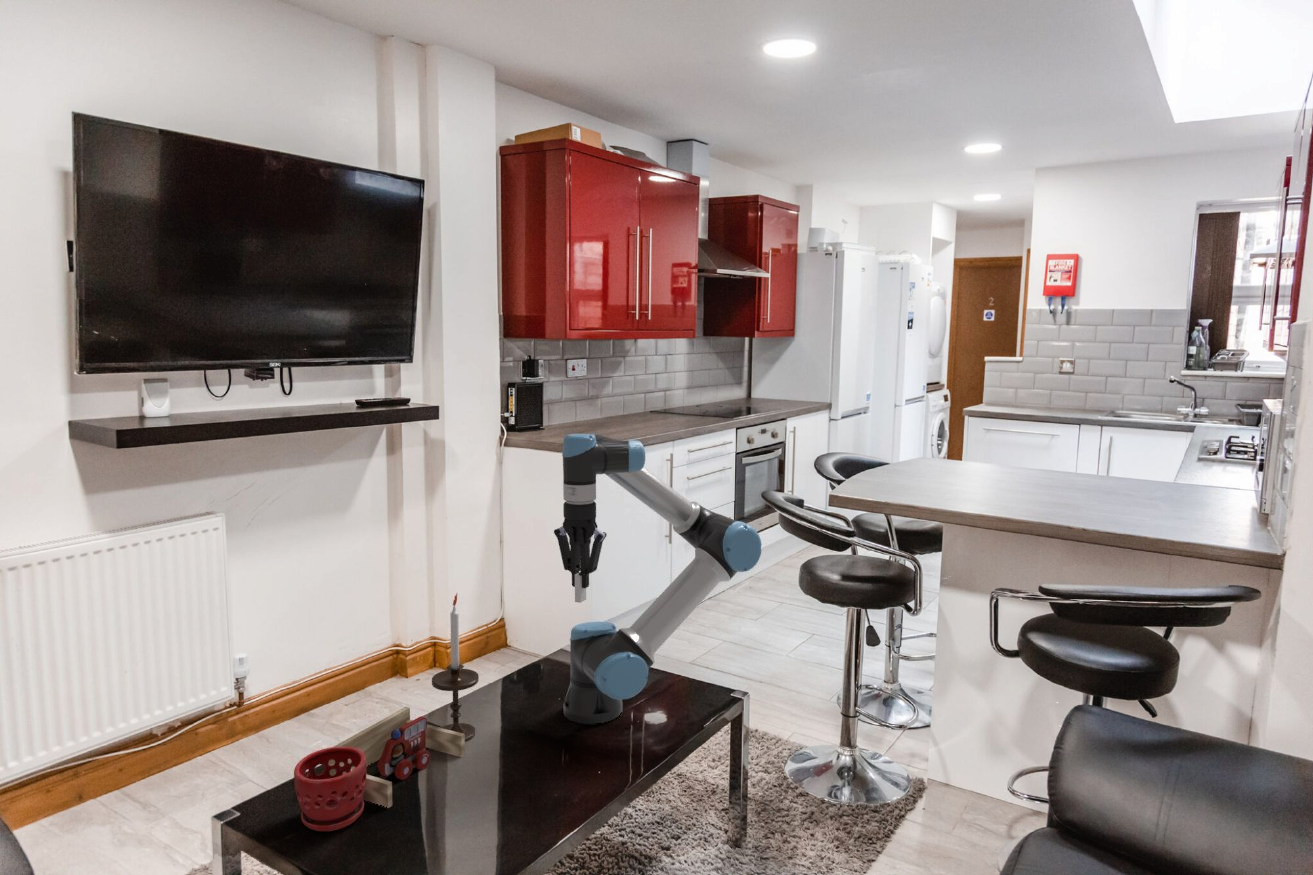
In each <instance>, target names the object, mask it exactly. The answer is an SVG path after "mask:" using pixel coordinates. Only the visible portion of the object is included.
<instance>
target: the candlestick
mask: <svg viewBox="0 0 1313 875" xmlns="http://www.w3.org/2000/svg"><path fill="white" fill-rule="evenodd" d="M457 600H458V593H456V594H455V595H454V599H453V601H452V611H450V617H449V618H450V664H448V665H447V666H446V670H442V671H440V672H437V673H436V674H434V675H433V676H432V677H431V685H432V688H435V689H437V690H439V691H444V692H452V702H451V703H450V704H449V709H450V710H451V711H452V712H451V713H450V718H452V723H450V724H446V725H443V726H442V727H441V728H443V729H447V730H451V731H455V732H458V733H462V734H465V743H467V742H469V741H470V740H472V739H473V738H474V737H475V736H476V728H475V727H474V726H473V725H472V724H469V723H465V722H460V719H459V718H460V717H461V716H462V713H461V712H460V709H461V707H463V706H462V705H463V703H462V702H460V701H459V691H464V690H467V689H470V688H473V687H474V686H476V685H477V684H478V683H479V673H478V672H477V671H475V670H472V669H468V668H464V667H465V666H464V665H463V664H462V663H460V631H459V630H460V629H459V628H460V624H459V623H460V621H459V619H460V618H459V616H460V615H459V614H460V613H459V611H458V610H457V607H456V605H457V602H458V601H457Z"/></svg>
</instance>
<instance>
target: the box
mask: <svg viewBox="0 0 1313 875" xmlns="http://www.w3.org/2000/svg"><path fill="white" fill-rule="evenodd" d="M413 720H414V719H411V708H410V707H409V706H404V707H403V708H401V709H400V710H397V711H395V712H394V713H391V715H388V716H387V717H385V718H383V719H381V720H379V721H377V722H376V723H374V724H372V725H370V726H368V727H367V728H364V729H363V730H361V731H359V732H358V733H356V734H354V735H352V736H350V737H348V738H347V739H345V740H343V741H341V742H339V743H337V744H336V745H334V746H333V747H353V748H356V749H359V750H360V751H362V752H363V753H364V755H365V757H366V768H367V767H369V766H371V765H372V764H374V763H375V762H378V761H379V759H380V757H381V756H382V753H383V750H384V747H385V744H386V742H387V740H389V739H391V732H392V731H393V730H395V729H397V730H399V728H400V727H402V726H403V725H405V724H407V723H409V722H411V721H413ZM425 734H426V749H430V750H434V751H437V752H440V753H446V754H449V755H452V756H456V757H459V758H462V757H464V756H466V748H465V747H466V745H465V744H466V742H465V734H462V733H458V732H455V731H451V730H447V729H443V728H442V727H439V726H435V725H431V724H428V723H427V727H426V731H425ZM348 762H349V763H351V762H352V761H351V759H348ZM371 763H372V764H371ZM328 764H329V765H334V764H335V760H329V761H328ZM368 765H369V766H368ZM340 766H344V763H343V762H341V763H340ZM355 768H356V767H352V768H351V771H352V770H353V769H355ZM335 774H336V770H335V769H331V770H330V775H335ZM344 774H347V773H346V772H343V775H344ZM366 775H367V776H366V786H365V791H364V794H363V797H362V799H363V801H364V800H365V801H364V802H367V801H370V802H372V803H371V804H373V803H375V804H374V805H376V804H378V805H377V806H380V805H382V806H381V807H383V806H384V807H383V808H386V807H387V808H386V809H389V808H391V807H392V806H393V782H392V781H389V780H387V779H383V778H381V777H377V776H373V775H370V774H368V773H366ZM370 802H369V803H370Z"/></svg>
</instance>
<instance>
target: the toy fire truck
mask: <svg viewBox="0 0 1313 875" xmlns="http://www.w3.org/2000/svg"><path fill="white" fill-rule="evenodd" d="M412 720H413V721H411V722H409V723H407V724H405V725H403V726H402V727H400V728H399V730H397V729H395V730H393V731H392V732H391V739H389V740H387V742H386V744H385V747H384V750H383V753H382V756H381V757H380V759H379V760H377V768H378V771H379V773H380V775H382V776H383V777H388V776H390V775H392V774H394V776H395V777H396V778H397V779H398V780H406V779H408V778H409V777H410V775H412V772H413V767H414V768H415V769H417V770H420V771H421V770H424V769H426V768H427V767H428V766H429V764H430V763H431V756H432V755H431V753H430V751H429V750H426V749H427V748H426V734H425V731H426V727H427V724H428V718H427V717H425V716H418V717H417V718H415V719H412Z"/></svg>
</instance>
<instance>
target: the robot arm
mask: <svg viewBox="0 0 1313 875" xmlns="http://www.w3.org/2000/svg"><path fill="white" fill-rule="evenodd" d="M561 454H562V455H561V456H562V471H563V472H562V475H563V477H562V478H563V480H562V481H563V482H562V483H563V484H562V490H563V494H562V495H563V500H564V502H563V509H562V510H563V518H564V520H563V522H562V526H560V527H558V528H556V529H554V530H553V534H554V535H555V537H556V539H557V544H558V547H559V550H560V555H561V556H560V557H561V560H562V565H563V570H565V571H569V572H570V573H571V585H572V587H573V588H574V602H575V603H579V604H580V603H582V602H584V601H586V600H587V588H589V587H590V574H592V573H594V572H596V571H598V564H599V560H600V556H601V552H602V551H601V550H602V548H603V544H604V543H603V542H604V540H605V539H606V538H607V532H605V531H603V532H602V531H601V530H600V529H599V528H598V524H597V503H596V499H597V475H605V476H607V477H608V478H610V479H611V480H613V481H614V482H615V483H616V484H618V485H619V486H620V487H622V488H623V489H624V490H626V491H627V492H628V493H629V494H631V495H632V496H634V497H635V498H636V499H638V500H639V501H640V502H641V503H643V504H644V505H646V506H647V507H648V508H649V509H650V510H652V511H653V512H655V513H656V514H658V515H659V516H660V517H661V518H663V519H664V520H666V521H667V522H668V523H669V524H671V525H672V529H673V532H675V533H676V534H678V535H679V536H680V537H681V538H682V539H684V540H685V541H686V542H687V543H689V544H690V545H691V547H693V548H694V554H695V555H694V559H692V561H691V562H690V563H689V564H688V565H686V567H685V568H684V569H683V571H681V572H680V574H678V575H677V576H676V578H675V579H673V581H671V583H670V584H669V585H668V586H667V587H666V588H665V589H664V591H662V592H661V594H660V595H659V596H658V597H656V599H655V600H654V601H653V602H652V603H651V604H650V605H649V606H648V608H646V610H644V612H643V613H642V614H641V615H640V616H639V617H638V618H637V619H636V620H635V621H634V622H633V624H631V626H630V627H628V628H627V627H626V628H625V627H623V628H621V627H620V628H619V629H618V630H617V626H616V624H614V623H612V622H609V621H590V622H589V621H588V622H583V623H579V624H576V625H575V626H573V627H572V629H570V630H571V631H570V638H569V644H570V646H569V648H570V652H569V653H570V654H569V655H570V658H569V659H570V660H569V664H570V665H569V666H570V675H569V676H570V680H569V681H570V682H569V686H568V689H567V692H566V696H565V698H564V702H563V715H564V718H566V717H567V718H566V719H568V720H569V721H572V722H573V721H574V723H576V722H577V724H581V723H585V724H584V725H597V724H596V723H602V724H605V723H604V722H607V721H610V720H612V719H614V718H616V717H618V716H619V715H620V713H621V712H622V713H623V700H629V699H631V698H634V697H635V696H637V695H638V694H639V693H640V692H642V691H643V689H644V688H645V686H646V684H647V682H648V676H649V669H650V668H651V666H653V665H654V663H655V654H656V652H657V651H658V650H660V648H661V646H663V645H664V644H665V642H666V641H667V640H668V639H669V638H670V637H671V636H672V635H673V634H674V632H675V631H676V630H677V629H679V627H680V626H681V625H682V624H683V623H684V621H685V620H687V619H688V617H689V616H690V615H691V614H692V613H693V612H694V611H695V609H697V608H698V607H699V605H700V604H701V603H702V602H703V601H704V600H706V598H707V597H708V596H709V595H710V594H711V592H712V591H714V589H715V588H716V587H717V586H718V585H719V583H721V582H729V581H731V580H732V578H733V577H734V576H735V575H736V574H737V573H743V572H748V571H750V570H752V569H753V568H754V567H755V566H756V565H757V564H758V562H759V560H760V558H761V555H762V540H761V537H760V534H759V532H758V531H757V530H756V528H754V527H753V526H751V525H748V523H746V522H743V521H739V520H736V519H732V518H730V517H728V516H725V515H722V514H719V513H717V512H714V511H711V510H709V509H708V508H705V507H704V506H702V505H701V504H699V503H698V502H696V501H689V500H688V499H686V497H684V496H683V495H681V494H680V493H679V492H678V491H676V490H675V489H674V488H672V486H670V485H669V484H667V483H666V482H664V481H663V480H662V479H661V478H659V477H658V475H655V473H653V472H651V470H649V469H648V468H646V467H645V464H646V449H645V447H644V445H643V443H642V442H641V441H640V440H635V439H634V440H632V439H627V440H618V439H615V438H611V437H607V436H604V435H602V434H599V433H598V434H597V433H595V434H592V433H571V434H567V435H565V436H564V438H563V441H562V453H561ZM592 538H593V540H594V541H592ZM591 541H592V546H591ZM620 716H621V715H620ZM618 718H619V717H618ZM610 722H611V721H610ZM607 723H608V722H607Z"/></svg>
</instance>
